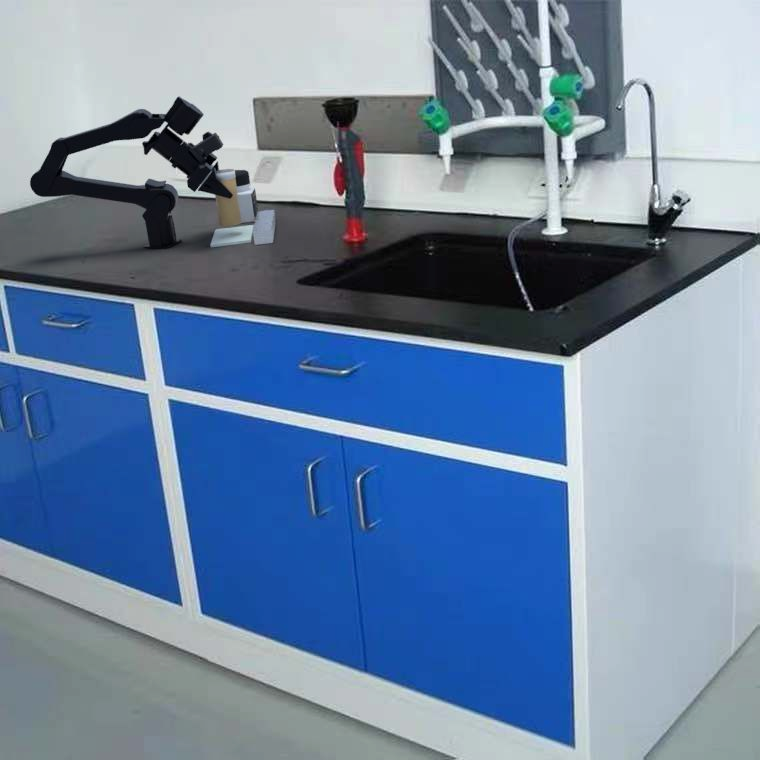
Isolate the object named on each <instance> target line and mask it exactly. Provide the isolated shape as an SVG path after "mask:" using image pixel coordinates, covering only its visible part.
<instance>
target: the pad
mask: <svg viewBox="0 0 760 760" xmlns="http://www.w3.org/2000/svg"><path fill="white" fill-rule="evenodd" d="M253 229H254V224H250V225H248V224H247V225H239V226H230V227H223V228H217V229H215V230H214V233H213V236H212V238H211V242H210V245H209V246H210V248H217V247H218V248H219V247H224V246H225V247H227V246H233V245H241V244H251V243H252V239H253V237H254V236H253Z"/></svg>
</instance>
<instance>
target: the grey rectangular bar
mask: <svg viewBox="0 0 760 760" xmlns="http://www.w3.org/2000/svg"><path fill="white" fill-rule="evenodd" d="M276 223H277V222H276V214H275V209H267V208H265V209H264V210H261V211H259V210H258V212H257V215H256V220H255V222H254V224H253V225H254V229H253V236H252V237H253V241H254V246H257V245H259V246H260V245H265V244H273V243H274V237H275V232H276V231H275V230H276V225H277V224H276Z"/></svg>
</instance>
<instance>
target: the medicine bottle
mask: <svg viewBox="0 0 760 760" xmlns="http://www.w3.org/2000/svg"><path fill="white" fill-rule="evenodd" d="M234 170H235V176H236V177H235V179H236V186H237V194H238V201H239V208H240V215H241V222H242V223H241V224H244V223H245V224H246V223H247V224H248V223H253V222H254V223H255V220H256V215H257V212H259V208H258V207H259V206H258V201H257V194H256V193H257V192H256V188H255V186H251V181H250V174H249V173H250V172H249V171H248V170H245V169H234Z"/></svg>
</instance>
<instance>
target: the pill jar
mask: <svg viewBox="0 0 760 760" xmlns="http://www.w3.org/2000/svg"><path fill="white" fill-rule="evenodd" d="M235 170H236V169H234V168H225V169H219V170H217V171H216V176H217V178H218V179H219V180H220V181H221V182H222V183H223V184H224V185H225V186H226V187H227V189H228V190H229V191H230V192H231V193H232V194H233V196H232V198H231V199H229V198H225V197H222V196H218V195H214V196H215V204H216V210H217V217H218V223H219V227H235V226H238V225H240V224H243V223H242V222H241V215H240V208H239V201H238V194H237V186H236V179H235V177H236V176H235Z"/></svg>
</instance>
